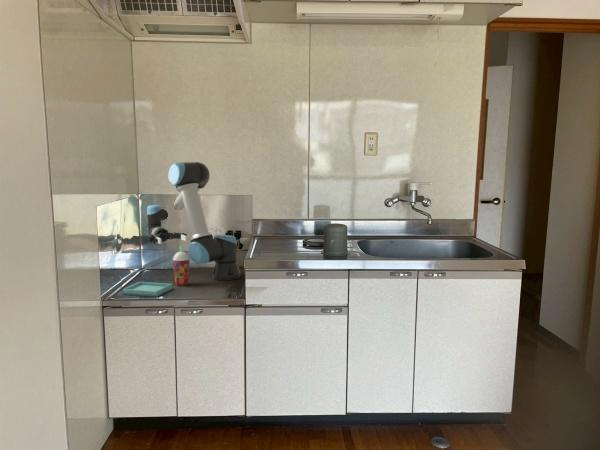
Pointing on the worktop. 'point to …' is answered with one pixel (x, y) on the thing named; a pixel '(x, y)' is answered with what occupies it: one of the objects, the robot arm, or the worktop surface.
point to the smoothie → (181, 268)
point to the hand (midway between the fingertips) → (173, 239)
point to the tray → (147, 289)
